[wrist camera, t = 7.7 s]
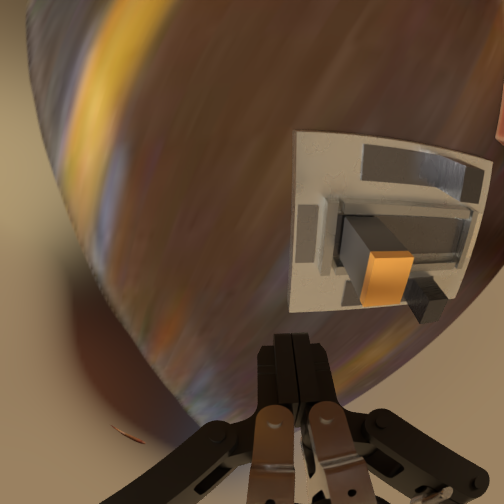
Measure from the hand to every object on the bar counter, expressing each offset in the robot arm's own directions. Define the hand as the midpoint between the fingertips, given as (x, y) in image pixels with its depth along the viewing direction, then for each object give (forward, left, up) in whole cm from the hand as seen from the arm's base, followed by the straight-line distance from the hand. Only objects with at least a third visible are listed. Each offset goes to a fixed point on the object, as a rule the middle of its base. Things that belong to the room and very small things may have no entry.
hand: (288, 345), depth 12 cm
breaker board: (0, +12, -13) cm, 17 cm away
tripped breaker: (0, +7, -11) cm, 13 cm away
